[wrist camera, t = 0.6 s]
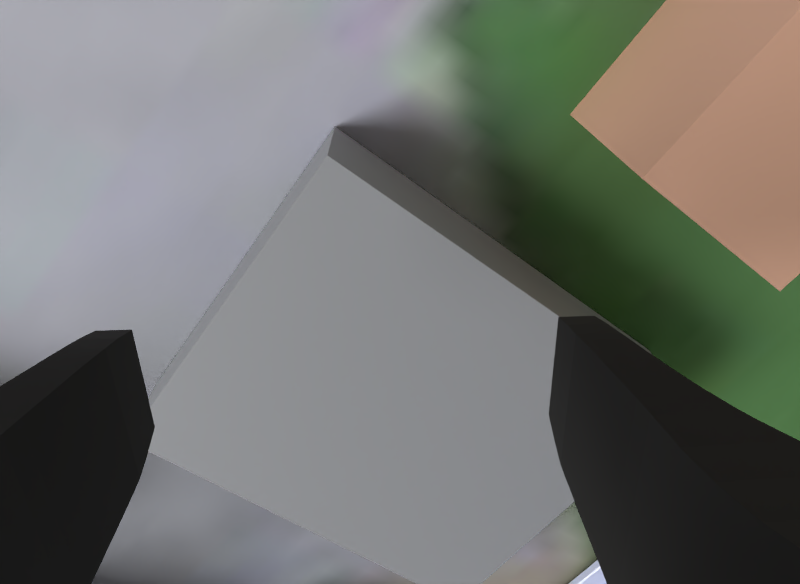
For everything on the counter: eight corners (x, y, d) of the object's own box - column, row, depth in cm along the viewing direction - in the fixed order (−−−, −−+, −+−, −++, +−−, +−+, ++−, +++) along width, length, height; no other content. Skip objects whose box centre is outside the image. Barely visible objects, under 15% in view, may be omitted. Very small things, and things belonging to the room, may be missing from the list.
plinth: (649, 350, 23) (684, 404, 20) (450, 538, 27) (457, 604, 24) (334, 126, 19) (327, 155, 16) (156, 384, 23) (126, 441, 20)
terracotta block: (794, 79, 19) (956, 132, 14) (676, 201, 20) (779, 291, 15) (687, -26, 18) (819, -13, 12) (569, 114, 19) (641, 178, 14)
